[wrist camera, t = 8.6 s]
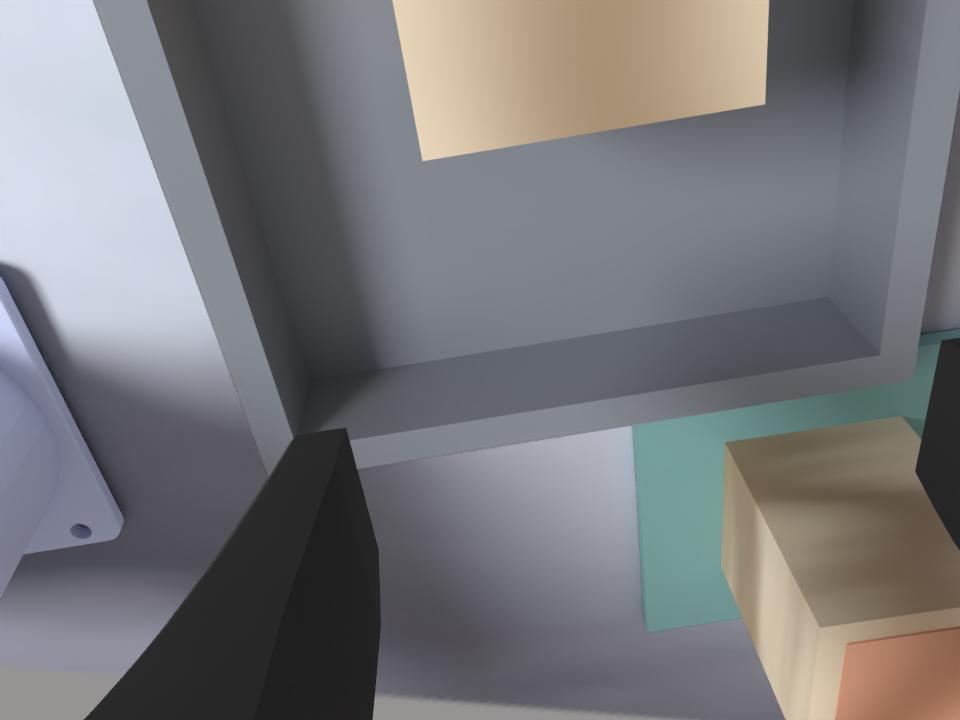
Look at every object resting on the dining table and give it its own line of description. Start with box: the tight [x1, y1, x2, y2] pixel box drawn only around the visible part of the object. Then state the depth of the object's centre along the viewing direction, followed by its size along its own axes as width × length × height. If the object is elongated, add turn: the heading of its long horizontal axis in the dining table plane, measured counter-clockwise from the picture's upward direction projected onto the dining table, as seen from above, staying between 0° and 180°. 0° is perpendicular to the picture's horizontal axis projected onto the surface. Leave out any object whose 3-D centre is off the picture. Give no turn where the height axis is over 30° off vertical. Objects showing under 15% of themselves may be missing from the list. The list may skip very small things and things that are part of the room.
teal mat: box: [632, 329, 960, 633], centre depth 23 cm, size 9×9×1 cm
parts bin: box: [93, 0, 960, 477], centre depth 16 cm, size 14×14×3 cm
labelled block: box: [721, 416, 960, 720], centre depth 21 cm, size 5×5×6 cm
